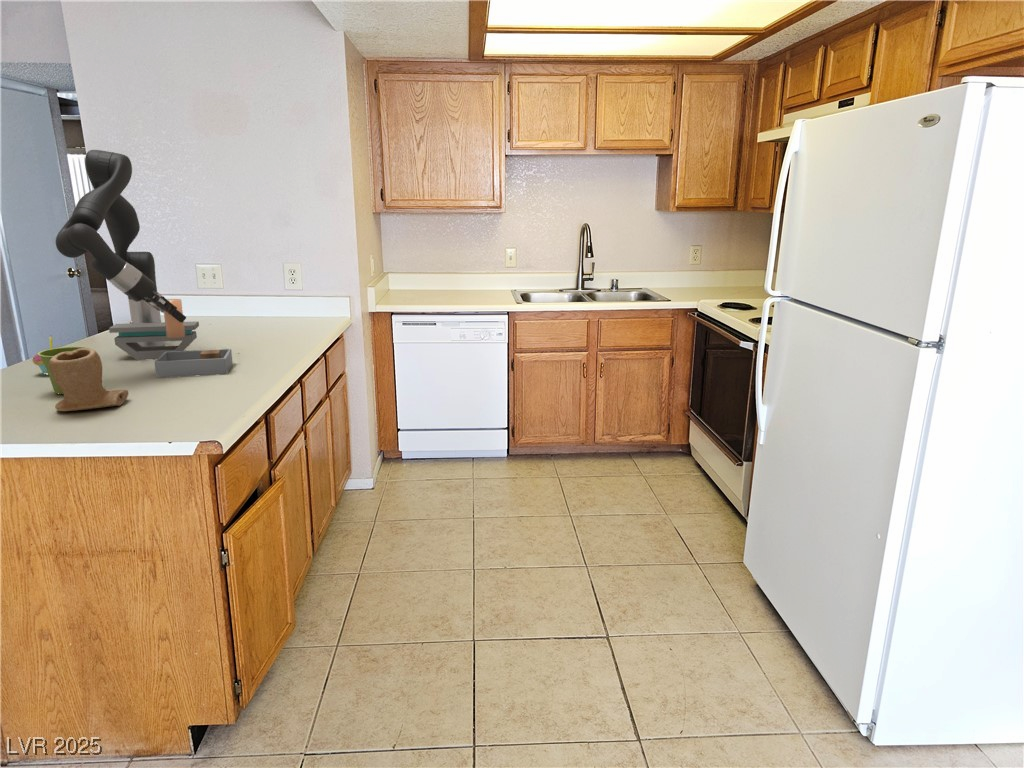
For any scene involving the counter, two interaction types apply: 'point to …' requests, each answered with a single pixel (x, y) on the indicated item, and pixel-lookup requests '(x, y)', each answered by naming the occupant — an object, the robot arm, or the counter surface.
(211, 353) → the cube
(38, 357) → the cupcake
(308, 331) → the counter surface
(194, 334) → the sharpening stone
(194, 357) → the tote
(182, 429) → the counter surface
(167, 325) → the peach dome-topped cylinder
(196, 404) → the counter surface
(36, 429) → the counter surface
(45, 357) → the plant pot
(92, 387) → the tan hollow clay piece
